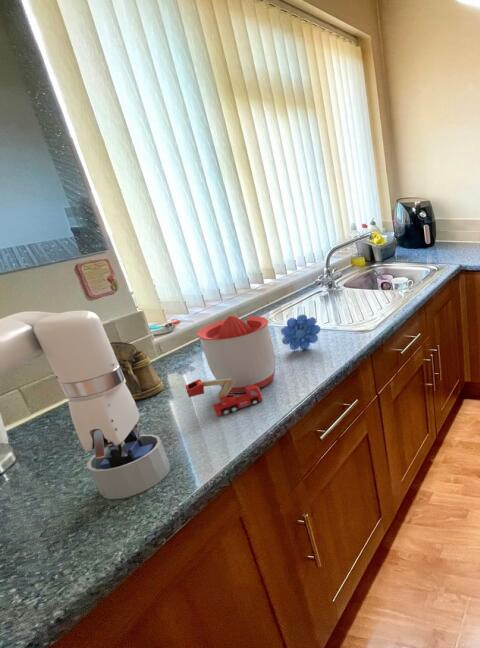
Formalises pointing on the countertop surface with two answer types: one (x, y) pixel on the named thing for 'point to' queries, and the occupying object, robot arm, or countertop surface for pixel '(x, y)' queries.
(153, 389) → the wooden mug
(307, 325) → the blue flower
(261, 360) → the citrus juicer
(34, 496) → the countertop surface
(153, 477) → the grey bowl
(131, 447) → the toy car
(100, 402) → the robot arm
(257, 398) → the toy fire truck
